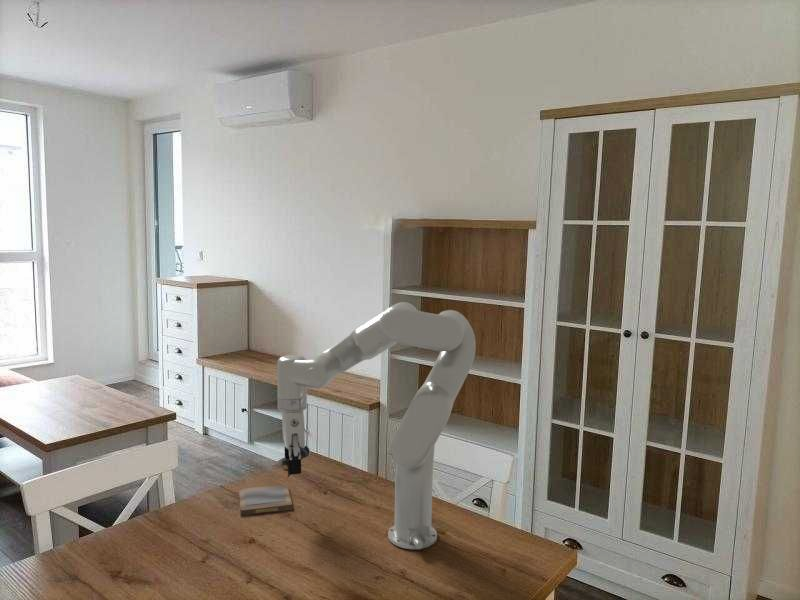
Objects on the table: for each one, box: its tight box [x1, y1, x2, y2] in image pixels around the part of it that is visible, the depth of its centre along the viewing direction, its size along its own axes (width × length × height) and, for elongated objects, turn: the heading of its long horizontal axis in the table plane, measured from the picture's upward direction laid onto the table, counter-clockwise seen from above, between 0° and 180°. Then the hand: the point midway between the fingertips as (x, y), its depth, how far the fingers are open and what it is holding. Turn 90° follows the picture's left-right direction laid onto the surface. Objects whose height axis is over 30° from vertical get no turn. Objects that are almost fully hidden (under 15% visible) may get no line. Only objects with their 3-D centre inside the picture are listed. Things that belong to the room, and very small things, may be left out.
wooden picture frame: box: [238, 483, 293, 516], centre depth 169 cm, size 14×14×2 cm
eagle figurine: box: [276, 445, 311, 478], centre depth 156 cm, size 8×7×9 cm
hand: (292, 466), depth 155 cm, fingers closed on eagle figurine, 8 cm apart
